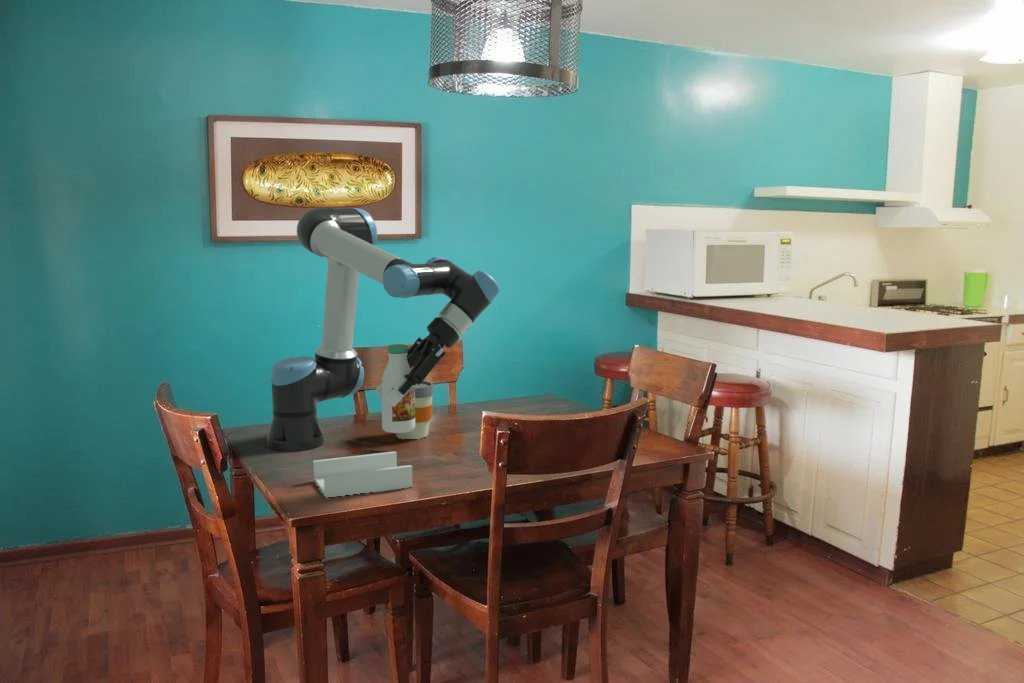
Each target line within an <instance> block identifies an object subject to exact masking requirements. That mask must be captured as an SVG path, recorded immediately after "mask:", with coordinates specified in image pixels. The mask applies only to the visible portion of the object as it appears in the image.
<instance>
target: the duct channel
mask: <svg viewBox="0 0 1024 683" xmlns="http://www.w3.org/2000/svg"><path fill="white" fill-rule="evenodd" d="M358 455H359V454H358ZM358 455H350V456H343V457H334V458H333V457H332V458H326V459H325V458H324V459H316V460H312V468H313V469H312V470H313V475H312V476H313V483H316V484H315V486H318V487H319V488H318V487H317V488H318V489H319V491H320V490H321V491H320V493H321V494H322V493H323V494H324V495H323V494H322V495H323V497H324V496H325V497H326V498H327V497H335V496H342V497H346V496H345V495H350V496H354V495H353V494H358V495H361V494H360V493H365V494H371V493H370V492H373V493H379V492H386V491H387V492H388V491H395V490H402V488H403V489H409V487H411V488H413V465H411V464H408V465H400V466H398V461H397V460H398V458H397V457H398V453H397V451H386V452H385V453H376V454H368V455H359V456H358ZM325 497H324V498H325ZM326 498H325V499H326ZM335 498H336V497H335ZM327 499H328V498H327Z"/></svg>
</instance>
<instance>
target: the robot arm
mask: <svg viewBox="0 0 1024 683" xmlns="http://www.w3.org/2000/svg"><path fill="white" fill-rule="evenodd" d="M297 222H298V223H297V225H296V236H297V239H298V241H299V243H300V244H301V245H302V247H303V248H305V250H307V251H309V252H310V253H312V254H314V255H316V256H317V257H321V258H325V260H326V261H327V272H326V284H325V298H324V309H323V310H324V311H323V321H322V322H323V323H322V324H323V325H322V334H321V335H322V336H321V345H319V347H317V348H316V349H315V353H314V357H313V356H306V355H304V356H303V355H301V356H293V357H287V358H284V359H281V360H279V361H277V362H275V363H274V364H273V366H272V368H271V378H270V382H271V396H272V397H271V400H272V401H271V402H272V419H271V423H270V427H269V430H268V432H267V433H268V434H267V437H266V446H267V447H268V448H270V449H272V450H276V451H282V452H283V451H285V452H287V451H289V452H290V451H291V452H295V451H305V450H310V449H311V450H312V449H314V448H315V449H316V448H317V447H320V446H322V445H324V443H325V435H324V431H323V427H322V426H321V423H320V420H319V417H318V413H317V411H318V410H317V408H318V407H317V403H321V402H325V401H329V400H334V399H335V400H336V399H343V398H345V397H348V396H351V395H352V396H353V395H354V394H355V393H357V392H358V391H359V390H360V389H361V387H362V384H363V382H364V378H365V369H364V367H363V366H362V365H363V363H362V360H361V359H360V358H359V357H358V352H357V351H356V350H355V349H354V347H353V345H354V343H353V342H354V336H355V334H354V333H355V323H356V322H355V321H356V314H357V313H356V312H357V302H358V301H357V300H358V299H357V298H358V290H359V289H358V288H359V280H360V279H359V278H360V274H362V275H364V276H365V277H367V278H369V279H372V280H373V281H374V282H375V281H376V282H377V283H380V284H381V285H383V288H384V290H385V291H386V292H387V293H386V294H387V295H388V296H390V297H393V298H400V299H401V298H402V299H408V298H411V297H412V298H414V297H420V296H421V297H422V296H433V295H443V296H445V297H447V298H448V299H450V301H448V303H446V304H445V306H444V307H443V308H442V309H441V310H440V311H439V312H438V313H437V314H438V316H436V317H434V319H433V320H432V321H430V323H428V325H427V326H426V330H427V332H429V334H428V335H427V336H426V337H425V338H422V337H418V338H417V339H416V340H415V342H414V343H413V344H412V345H411V346H410V347H408V352H407V354H408V355H407V361H408V364H409V367H410V369H411V371H410V373H409V374H407V375H404V377H405V378H406V379H405V378H403V379H402V380H401V381H400V383H399V384H398V385H397V386H396V387H395V388H394V389H393V390H392V392H391V393H390V394H389V395H388V396H387V397H386V398H385V400H387V401H388V402H389V403H390V404H391V405H392V406H393V407H395V405H396V404H397V403H398V402H399V401H400V400H401V399H402V398H403V396H404V395H405V394H406V393H407V392H408V391H409V390H410V389H411V387H412V386H413V385H416V384H418V385H420V384H421V383H422V381H425V379H426V378H427V376H428V375H429V374H430V373H431V371H432V370H433V369H434V367H435V366H436V365H437V364H438V362H439V361H440V360H441V359H442V358H443V357H444V356H445V355H446V354H447V352H446V351H445V350H444V349H443V348H444V347H445V348H447V349H451V348H453V346H454V345H455V344H456V343H457V342H458V341H459V339H460V336H463V335H464V333H465V332H466V331H470V327H471V326H472V324H473V323H474V322H475V321H476V320H477V318H478V317H479V316H480V315H482V313H483V312H484V311H485V310H486V309H487V308H488V307H489V306H490V305H491V304H492V302H493V301H494V299H495V298H496V297H497V295H498V294H500V292H501V291H500V290H501V289H500V285H499V283H498V282H497V281H496V280H495V279H494V277H492V275H490V274H489V273H487V272H486V271H484V270H480V269H479V270H477V271H475V272H474V273H473V274H471V273H468V272H466V271H465V270H464V269H462V268H460V267H459V266H458V265H456V264H454V263H453V262H452V260H451V261H450V260H449V259H447V258H444V257H443V256H440V255H436V256H435V255H434V256H432V258H429V259H428V260H427V261H425V263H411V262H410V261H407V260H405V259H403V258H401V257H399V256H397V255H395V254H393V253H390V252H388V251H386V250H385V249H383V248H380V247H378V246H376V244H377V240H378V228H377V225H376V222H375V220H374V219H373V217H372V215H371V214H370V213H369V212H368V211H366V210H364V209H362V208H357V207H356V208H355V207H351V206H350V207H349V206H348V207H343V206H342V207H323V206H321V207H320V206H319V207H313V208H311V209H309V210H307V211H306V212H304V213H303V214H302V215H301V216H300V218H299V219H298V221H297ZM373 392H374V393H375V394H376V395H377V396H379V398H380V399H382V382H381V384H379V386H378V387H377V388H376V389H375V390H374V391H373Z"/></svg>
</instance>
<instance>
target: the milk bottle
mask: <svg viewBox="0 0 1024 683" xmlns="http://www.w3.org/2000/svg"><path fill="white" fill-rule="evenodd" d="M408 349H409V347H408V345H406V344H401V343H395V344H389V345H388V346H387V356H388V360H387V363H386V364H387V365H386V367H385V369H384V372H383V374H382V377H381V378H382V379H381V383H382V398H381V428H382V430H383V431H384V432H386V433H392V434H393V433H394V434H396V433H403V432H409V431H412V430H414V428H415V385H413V386H412V387H411V389H410V390H409V391H408V392H407V393H406V394H405V395H404V396H403V398H402V399H401V400H400V401H399V402H398V403H397V404H396V405H395V407H393V406H392V405H391V404H390V403H389V402H388V401H387V400H385V398H386V397H387V396H388V395H389V394H390V393H391V392H392V390H393V389H394V388H395V387H396V386H397V385H398V384H399V383H400V381H401V380H402V379H403V378H405V377H404V375H407V374H409V373H410V371H411V370H412V368H411V369H410V367H409V364H408V361H407V355H408V354H407V352H408ZM405 379H406V378H405Z"/></svg>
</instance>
